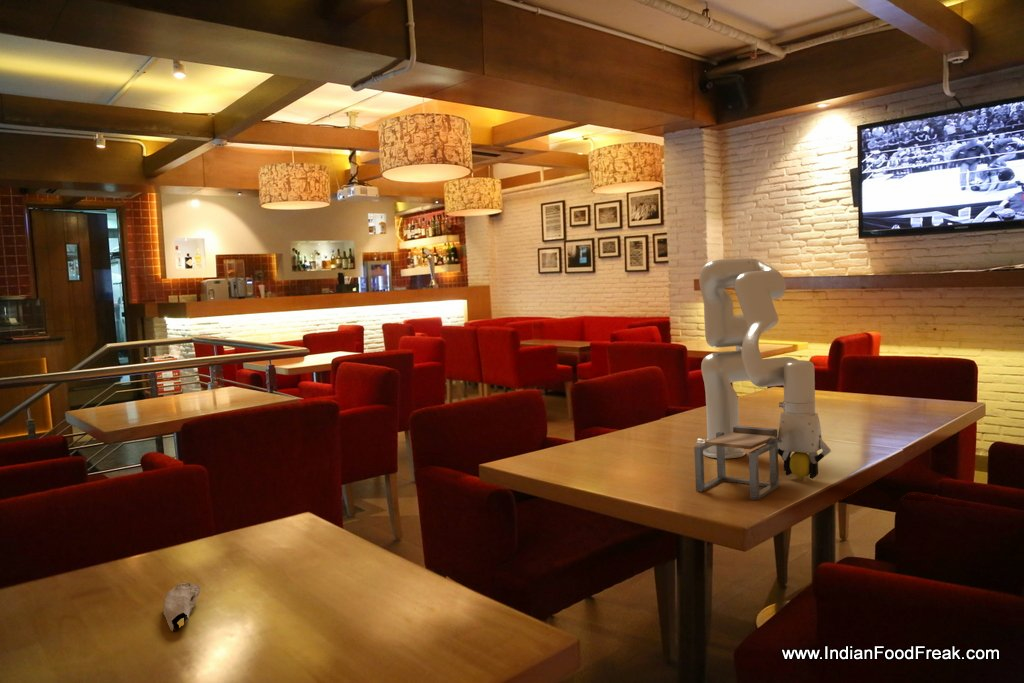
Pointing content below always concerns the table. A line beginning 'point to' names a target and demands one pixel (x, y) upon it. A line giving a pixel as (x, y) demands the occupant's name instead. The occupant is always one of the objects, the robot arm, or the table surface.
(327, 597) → the table surface
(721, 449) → the frame
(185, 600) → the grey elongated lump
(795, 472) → the lemon
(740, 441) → the trapdoor
